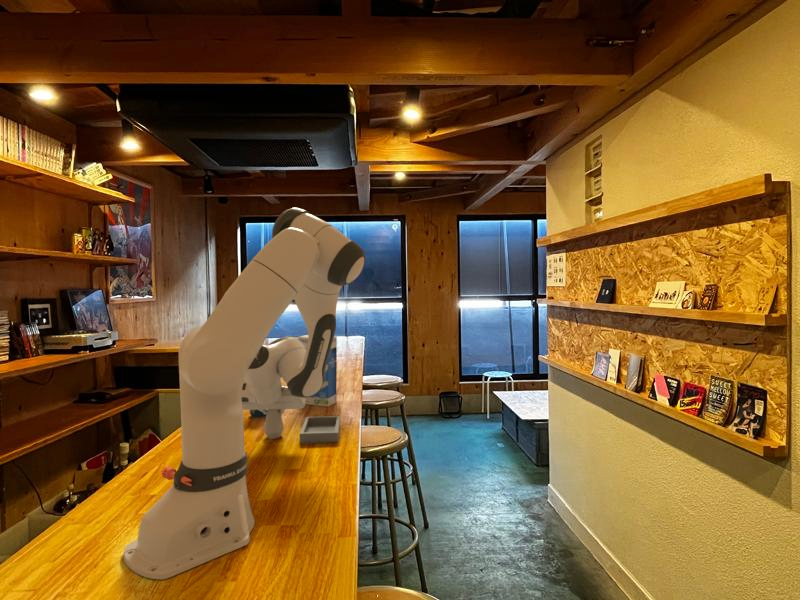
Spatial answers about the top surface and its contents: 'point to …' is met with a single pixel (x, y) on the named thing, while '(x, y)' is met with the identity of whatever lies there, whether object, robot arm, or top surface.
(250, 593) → the top surface
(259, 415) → the soda can
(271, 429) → the salt shaker
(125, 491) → the top surface
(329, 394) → the string lights box
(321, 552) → the top surface
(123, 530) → the top surface
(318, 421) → the trough
